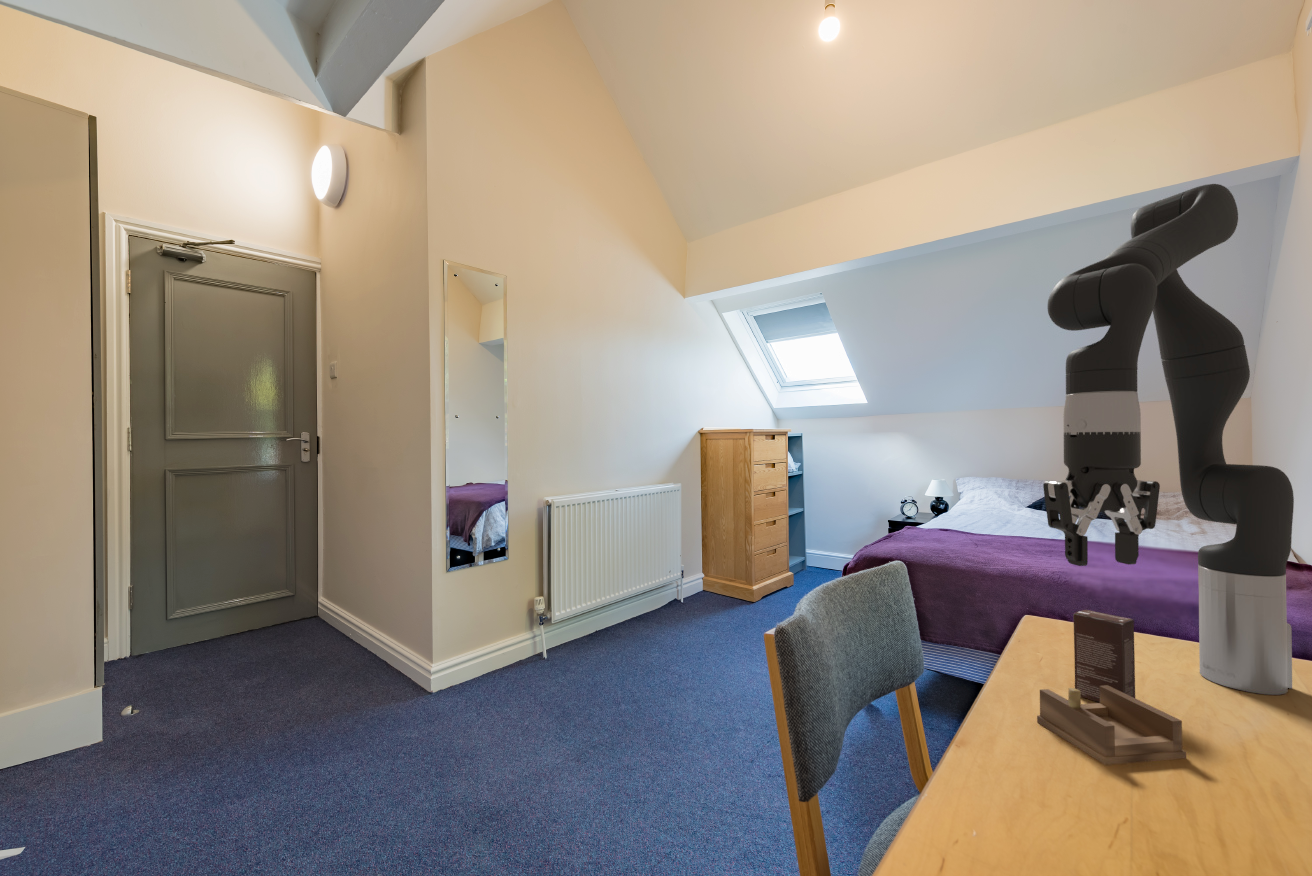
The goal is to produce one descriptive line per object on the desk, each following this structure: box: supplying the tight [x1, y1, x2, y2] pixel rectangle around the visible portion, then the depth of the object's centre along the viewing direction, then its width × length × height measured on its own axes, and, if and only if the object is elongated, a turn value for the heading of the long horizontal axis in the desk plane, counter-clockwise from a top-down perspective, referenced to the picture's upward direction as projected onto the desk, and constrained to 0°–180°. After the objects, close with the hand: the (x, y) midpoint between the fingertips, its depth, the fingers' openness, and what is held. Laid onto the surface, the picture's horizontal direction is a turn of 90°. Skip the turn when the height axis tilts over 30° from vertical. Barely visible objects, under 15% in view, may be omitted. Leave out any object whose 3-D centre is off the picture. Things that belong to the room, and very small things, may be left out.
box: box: [1072, 609, 1136, 703], centre depth 79 cm, size 6×4×12 cm
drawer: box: [1036, 685, 1187, 766], centre depth 69 cm, size 10×10×6 cm
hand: (1101, 563), depth 69 cm, fingers open, 6 cm apart
